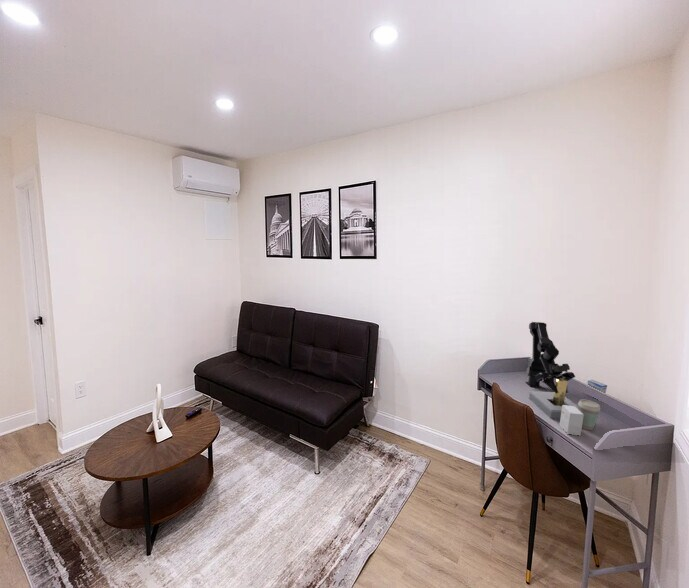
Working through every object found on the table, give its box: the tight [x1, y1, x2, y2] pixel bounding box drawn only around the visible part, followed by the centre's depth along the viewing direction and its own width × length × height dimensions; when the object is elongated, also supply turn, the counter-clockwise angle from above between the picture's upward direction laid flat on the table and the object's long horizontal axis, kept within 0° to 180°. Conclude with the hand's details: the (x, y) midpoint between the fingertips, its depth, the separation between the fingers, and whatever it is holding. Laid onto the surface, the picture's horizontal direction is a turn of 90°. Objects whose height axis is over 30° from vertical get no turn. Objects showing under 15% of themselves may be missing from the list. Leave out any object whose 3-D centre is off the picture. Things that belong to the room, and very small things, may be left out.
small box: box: [559, 405, 584, 436], centre depth 149 cm, size 8×6×10 cm
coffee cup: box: [577, 398, 601, 431], centre depth 153 cm, size 8×8×12 cm
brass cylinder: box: [551, 378, 569, 406], centre depth 166 cm, size 5×5×13 cm
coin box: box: [528, 390, 579, 420], centre depth 169 cm, size 20×16×4 cm
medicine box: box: [586, 379, 608, 393], centre depth 184 cm, size 8×4×9 cm, turn 23°
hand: (561, 392), depth 165 cm, fingers closed on brass cylinder, 5 cm apart
